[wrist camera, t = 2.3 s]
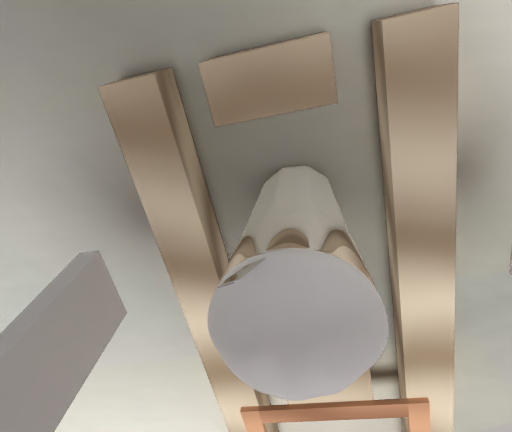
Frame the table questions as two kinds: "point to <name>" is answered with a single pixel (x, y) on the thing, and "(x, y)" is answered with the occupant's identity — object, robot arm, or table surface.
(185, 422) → the table surface
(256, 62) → the wooden slide rule
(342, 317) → the milkshake
